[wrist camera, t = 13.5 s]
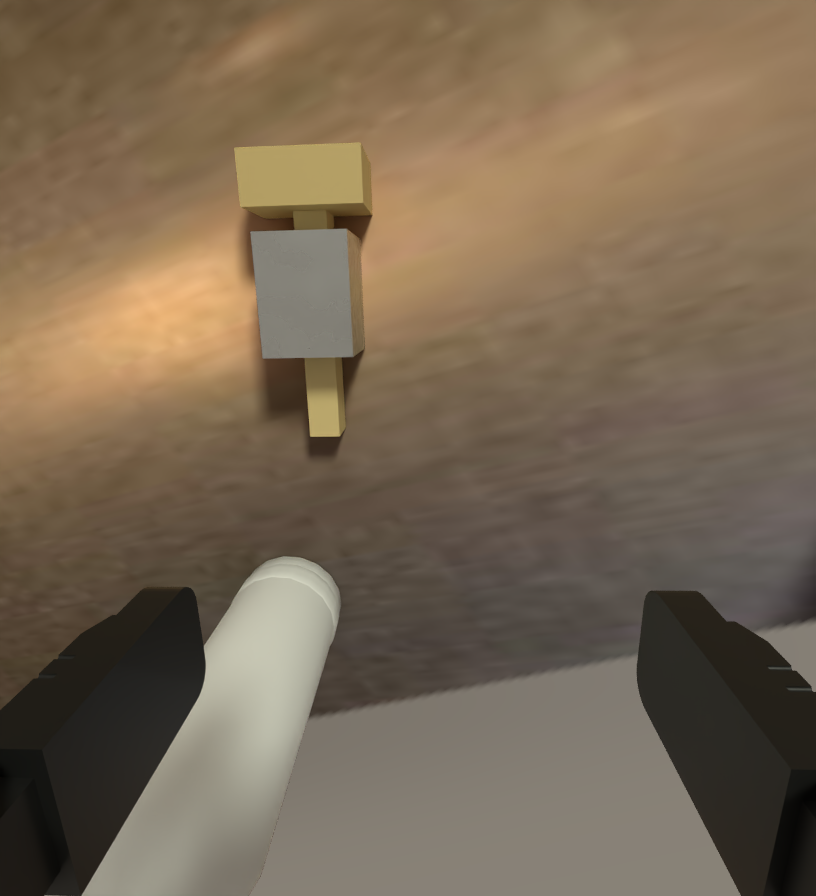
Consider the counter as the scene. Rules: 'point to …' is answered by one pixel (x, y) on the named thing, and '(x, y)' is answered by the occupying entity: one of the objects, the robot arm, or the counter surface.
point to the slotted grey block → (309, 293)
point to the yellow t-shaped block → (313, 207)
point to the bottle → (231, 745)
